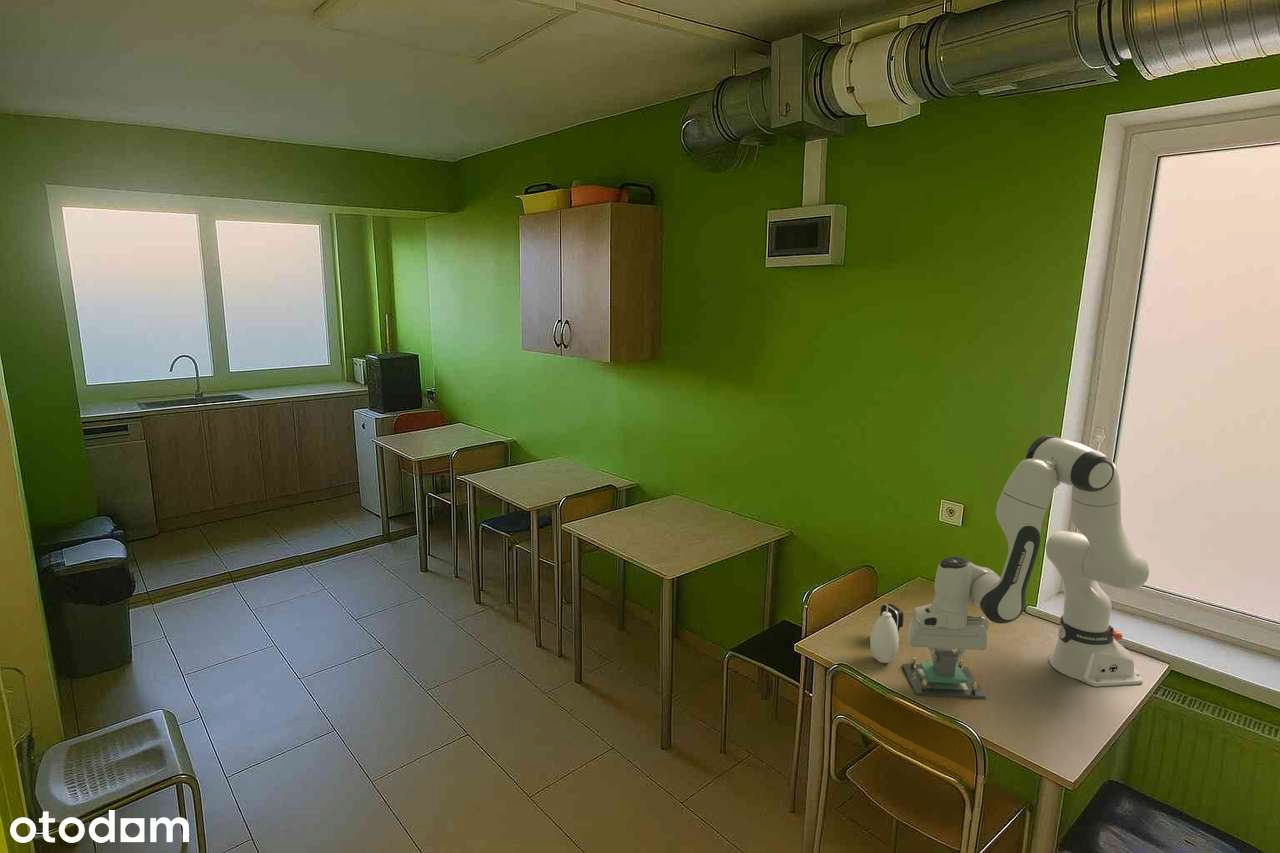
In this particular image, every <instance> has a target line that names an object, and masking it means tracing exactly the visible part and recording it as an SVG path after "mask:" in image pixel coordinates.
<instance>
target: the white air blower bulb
mask: <svg viewBox="0 0 1280 853" xmlns="http://www.w3.org/2000/svg"><path fill="white" fill-rule="evenodd" d="M891 616H892V615H891V613H889V612H888V605H887V609H886V612H883V613H882V615H881V616H880V615H879V617H878V618H877V620H876V621H875V622H874V625H873V627H872V629H871V633H870V641H869V645H870V651H871V653H872V656H873V657H874V659H876V660H877V661H878V662H879V663H882V664H887V663H889V662H892V661H893V659H894V658H895V657H896V656H897V653H898V650H899V646H900V645H899V644H900V637H899V636H900V635H899V632H898V630H897V626H896V624H895V621H894V619H893V618H892V617H891Z"/></svg>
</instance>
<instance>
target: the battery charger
mask: <svg viewBox="0 0 1280 853" xmlns="http://www.w3.org/2000/svg"><path fill="white" fill-rule="evenodd" d="M887 605H888V612H889V613H891V615H892V616H891V617H892V618H893V619H894V621H895V624H896V626H897V630H898V633H900V632H899V631H900V629H901V628H902V627H904V612H903V611H902V609H900V608H899V607H897V606H896V605H894V604H892V603H887V604H886V603H884V604H883V605H881V608H880V615H879V617H880V616H881V615H882V613H883V612H886V609H887Z"/></svg>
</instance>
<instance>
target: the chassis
mask: <svg viewBox="0 0 1280 853" xmlns="http://www.w3.org/2000/svg"><path fill="white" fill-rule="evenodd" d="M916 663H917V657H916V656H914V655H913V656H911V659H910V663H902V665H901V667H902V669H903V670H904V673H905V675H906V677H907V679H908V681H909V683H910V685H911V688H912V690H913V692H914V695H915V696H927V697H928V696H930V697H943V698H944V697H946V698H947V697H948V698H961V699H962V698H963V699H976V700H977V699H978V700H979V699H981V700H982V699H983V700H985V699H987V698H986V697H987V696H986V694H985V693H984V691H983V690H982V687H981V686H980V685H979V682H978V681H977V680H976V679H975V677H974V676H973V674H972V672H971V670H970V669H969V667H968V666H964V659H962V658H959V663H957V665H958V666H959V668H960V669H961V671H962V672H963V674H964V675H965V676H966V678H967V679H968V683H941V682H930V681H929V680H928V678H927V676H926V675H925V673H924V671H923V670H922V668H921V666H920V664H919V663H918V664H916Z"/></svg>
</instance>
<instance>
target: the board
mask: <svg viewBox="0 0 1280 853" xmlns="http://www.w3.org/2000/svg"><path fill="white" fill-rule="evenodd" d="M933 652H934V653H937V655H938V656H939V658H938V662H936V661H932V662H920V666H921V668H922V670H923V671H924V673H925V675H926V676H927V678H928V680H929V681H930V682H941V683H968V679H967V678H966V676H965V675H964V674H963V672H962V671H961V669H960V668H959V666H958V663H956V658H957V657H956V655H955V652H954V651H953V650H952V649H947V648H935V651H933Z"/></svg>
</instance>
